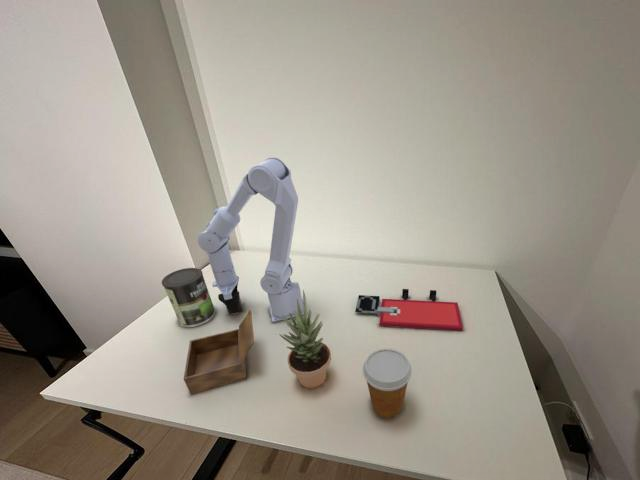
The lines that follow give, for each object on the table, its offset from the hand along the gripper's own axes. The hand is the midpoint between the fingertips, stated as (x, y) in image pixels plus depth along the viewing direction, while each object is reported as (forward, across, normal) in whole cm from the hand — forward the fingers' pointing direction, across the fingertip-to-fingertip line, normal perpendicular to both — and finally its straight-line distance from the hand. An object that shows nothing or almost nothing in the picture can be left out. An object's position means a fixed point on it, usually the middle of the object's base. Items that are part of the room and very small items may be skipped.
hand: (234, 305), depth 97 cm
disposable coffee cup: (+2, +48, +30) cm, 57 cm away
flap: (-7, +23, +4) cm, 24 cm away
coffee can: (+2, -1, -11) cm, 11 cm away
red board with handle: (+2, +21, +48) cm, 52 cm away
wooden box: (+1, +23, -4) cm, 23 cm away
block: (+1, 0, 0) cm, 1 cm away
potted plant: (+2, +35, +17) cm, 39 cm away
